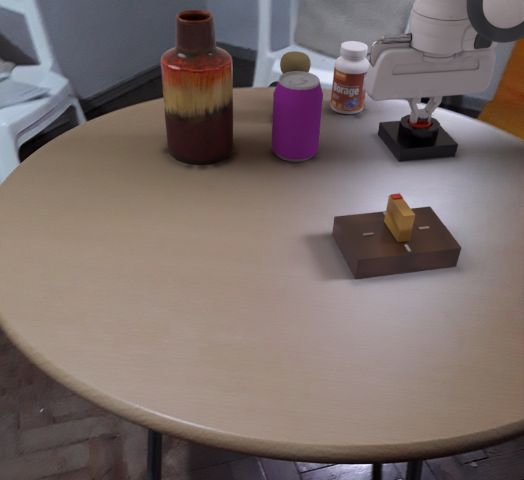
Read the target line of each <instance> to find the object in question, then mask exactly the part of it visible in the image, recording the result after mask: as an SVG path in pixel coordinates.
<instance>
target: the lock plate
mask: <svg viewBox="0 0 524 480" xmlns="http://www.w3.org/2000/svg"><path fill="white" fill-rule="evenodd" d="M410 208H411V207H410ZM411 210H412V211H413V213H414V214H415V218H414V222H413V226H412V231H411V235H410V240H409V241H406V242H397V240H396V239H395V237H394V236H393V234H392V233H391V231H390V230H389V228H388V227H387V225H386V224H385V222H384V219H385V214H386V210H383V211H373V212H364V213H354V214H345V215H337V216H336V215H335V216H334V217H333V224H332V233H331V236H332V238H333V240H334V242H335V243H336V245H337V248H338V249H339V251H340V253H341V255H342V257H343V259H344V260H345V262H346V264H347V266H348V268H349V270H350V272H351V274H352V276H353V278H354V279H355V280H358V279H366V278H373V277H382V276H391V275H399V274H406V273H413V272H423V271H430V270H438V269H444V268H445V269H447V268H454V267H457V265H458V261H459V259H460V255H461V251H462V246H461V245H460V243H459V242H458V240H457V239H456V238H455V237H454V236H453V234H452V233H451V232H450V230H449V229H448V227H447V226H446V225H445V224H444V223H443V221H442V220H441V219H440V217H439V215H438V214H437V213H436V212H435V210H433V208H432V207H431V206H420V207H412V208H411Z"/></svg>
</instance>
